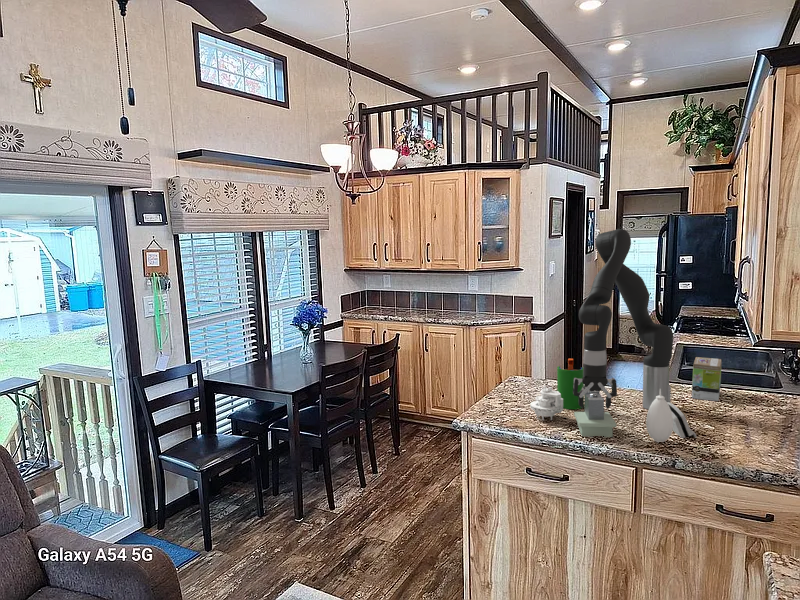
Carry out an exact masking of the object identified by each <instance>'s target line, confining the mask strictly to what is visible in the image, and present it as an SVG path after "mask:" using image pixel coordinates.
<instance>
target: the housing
mask: <svg viewBox="0 0 800 600" xmlns="http://www.w3.org/2000/svg"><path fill="white" fill-rule="evenodd" d="M583 410H584V411H583V412H585V413H586V415H587V417H588V419H589V420H604V411H605V398H604V397H603V396H602V395H601V394H600V391H588V392H587V393H586V394H585V395H584V407H583Z"/></svg>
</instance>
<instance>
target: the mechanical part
mask: <svg viewBox="0 0 800 600" xmlns="http://www.w3.org/2000/svg"><path fill="white" fill-rule="evenodd" d="M541 388H542V389H541V390H540V391H539V395H536V396H535V400H534V401H531V402H530V404H529V408H530V409H531V410H532V411H534V414H535V415H536V419H539V416H540V417H541V418H542V419H541V420H543V421H545V418H544V417H549V418H550V421H553V416H555V415H556V414H561V413H562V412H563V411H564V408H563V398H561V393H559V392H558V391H557V390H553V387H552V386H549V387H547V385H543V386H542V387H541Z"/></svg>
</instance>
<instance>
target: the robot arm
mask: <svg viewBox="0 0 800 600" xmlns="http://www.w3.org/2000/svg"><path fill="white" fill-rule="evenodd" d="M594 242H595V247H596V251H597V253H598V254H599V256H600V259H601V260H602V261H603V262H604V265H603V266H602V267H601V269H600V270H599V271H598V272H597V274H596V275H595V276H594V279H593V281H592V284H591V288H590V292H589V294H588V295H587V297H586V298H585V300H584V302H583V303H582V305H581V306H580V308H579V309H578V320H579V321H580V323H581V324H583V325H587V326H598V329H596V330H593V331H587V332H585V334H584V337H583V339H584V340H583V341H584V344H583V347H584V349H583V354H582V355H583V359H582V363H583V364H582V365H583V378H582V379H578V378H574V383H573V394H574V396H578V404H579V406H580V407H581V409H584V407H583V396H584V395H585V394H586V393H587V392H588V391H599V392H601V391H602V392H603V393H604V394H605V395H606V396H605V407H606V409H610V407H612V398H613V397H614V398H615V397H617V396H618V388H617V380H616V379H615V377H611V378H607V362H608V359H607V334H608V330H609V327H610V324H611V321H612V316H613V313H612V310H611V308H610V307H609V306H608V305H606V304H607V303H609V302H610V301H611V299H612V295H613V290H614V287H615V284H616V286H617V290H618V291H619V294H620V295H621V297H622V299H623V302H624V304H625V305H626V307H627V310H628V312H629V314H630V317H631V319H632V321H633V324H634V327H635V330H636V333H637V336H638V338H639V340H640V342H641V343H642V344H643V345H644V346H647V347H651V348H652V352H651V354H647V355H645V356H644V357H643V361H642V362H643V365H642V408H643V409H645V410H649V408H650V406H651V404H652V402H653V401H654V400H655V399H656V396H659V393H660V389H661V396H664V397H665V400H666V402H670V403H672V402H671V400H672V399H671V393H672V387H671V386H672V385H670V363H671V360H672V357H673V347H674V345H673V344H674V332H673V330H672V328H671V327H670V326H668V325H664V324H661V323H655V322H654V321H653V319H652V318H651V314H650V313H649V304H650V303H649V302H650V292H649V290H648V287H647V285H646V283H645V281H644V278H643V277H642V276H640V275H639V274H638V273H636V272H635V271H634V270H632V269H631V268H629V267H628V265H625V264H624V262H625V260H626V259H627V256H628V255H629V252H630V249H631V245H632V240H631V235H630V233H629V232H628V231H627V230H626V229H623V228H618V229H613V230H609V231H605V232H601V233H599V234H597V235H596V237H595V241H594ZM581 382H583V384H584V386H583V388H582V389H581V391H580V392H578V385H580V383H581ZM608 383H609V385H610V386H611V391H610V392H609V391H608V390H607V388H606V386H607V384H608Z"/></svg>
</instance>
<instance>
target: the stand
mask: <svg viewBox="0 0 800 600" xmlns="http://www.w3.org/2000/svg"><path fill="white" fill-rule="evenodd" d="M573 416H574V418H575V420H576V423H577V424H576V425H577V426H578V427H577V428H579V429H578V431H579V432H580V435H581V437H593V436H602V437H603V436H604V437H603V438H613V437H614V436H613V435H614V434H613V433H614V432H613V428H617V423H616V421H615V419H614V418H613V416H612V415H611V414H610V411H609V412H608V411H605V412H604V420H589V419H588V417H587V415H586V413H585V411H573ZM602 437H601V438H602Z"/></svg>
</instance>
